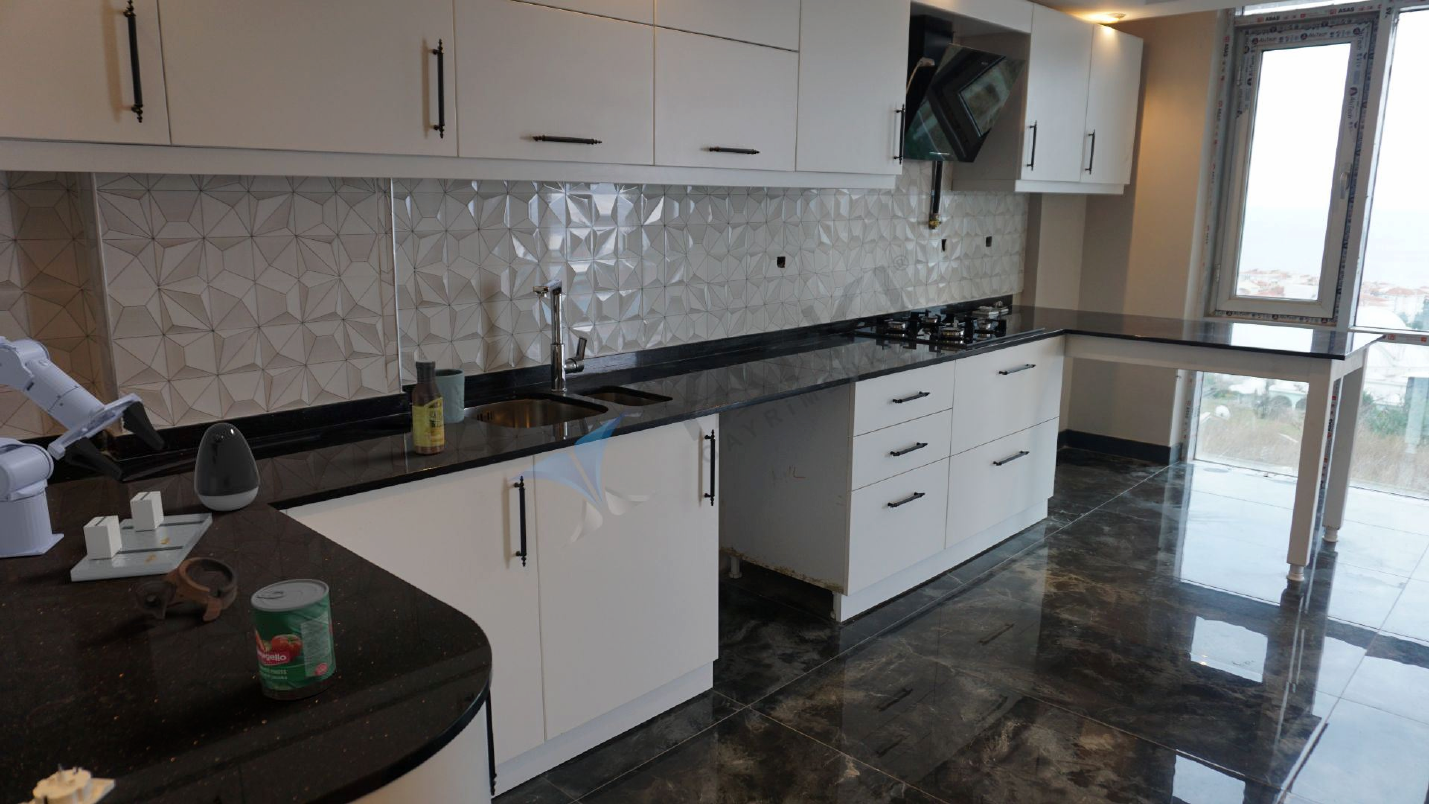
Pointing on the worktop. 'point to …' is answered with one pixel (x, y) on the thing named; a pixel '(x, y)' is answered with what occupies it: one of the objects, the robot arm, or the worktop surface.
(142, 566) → the board
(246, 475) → the black egg shape
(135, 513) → the far fader cap
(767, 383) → the worktop surface
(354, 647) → the worktop surface
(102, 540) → the cap
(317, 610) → the canned tomato
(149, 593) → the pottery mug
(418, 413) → the sauce bottle
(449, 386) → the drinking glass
